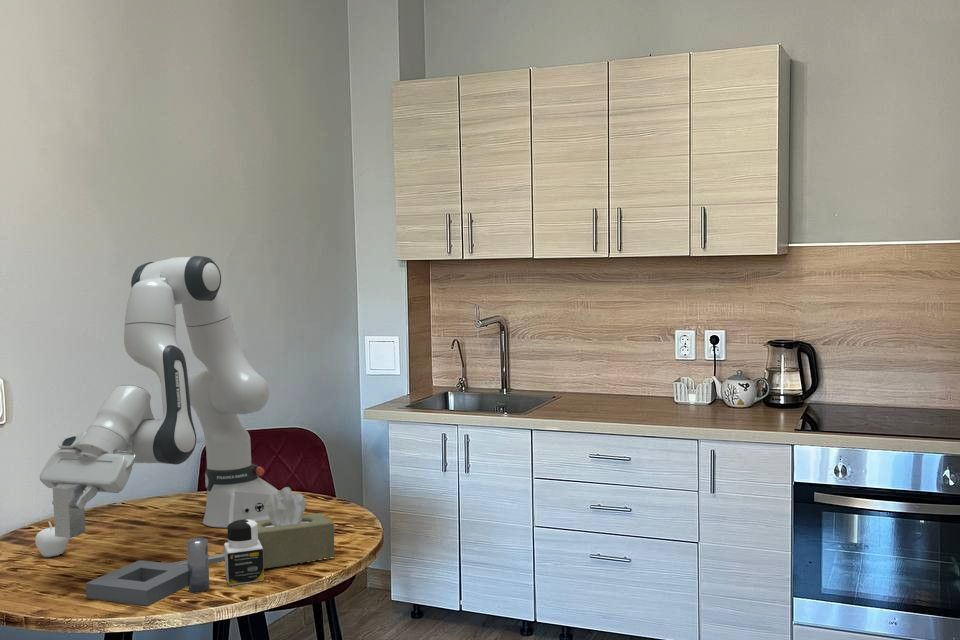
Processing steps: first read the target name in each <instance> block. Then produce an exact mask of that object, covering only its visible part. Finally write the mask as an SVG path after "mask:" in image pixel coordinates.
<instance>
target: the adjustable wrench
mask: <svg viewBox="0 0 960 640" xmlns="http://www.w3.org/2000/svg"><path fill="white" fill-rule="evenodd" d="M222 561H224V562H225V554H224V553H218V554H213V555H208V563H209V565H212V563H213V564H218V563H217V562H219V563H223V562H222ZM169 563H170V564H179V565H188V562H187V559H186V560H180V561H175V562H169Z"/></svg>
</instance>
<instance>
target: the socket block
mask: <svg viewBox="0 0 960 640" xmlns="http://www.w3.org/2000/svg"><path fill="white" fill-rule="evenodd" d="M170 563H171V562H161V561H159V562H158V561H150V560H140V559H138V560H136V561H134V562H132V563H129V564H127V565H125V566H122V567H119V568H118V569H115V570H113V571H111V572H108V573H106V574H103V575H102V576H99V577H97V578H94V579H93V580H89V581H88V582H86V583H85V599H89V600H90V599H91V600H97V601H99V600H100V601H104V602H106V601H107V602H114V603H121V604H130V605H135V606H136V605H137V606H146V607H149V606H150V605H152V604H154V603H156V602H159V601H160V600H162V599H164V598H166V597H169V596H171V595H172V594H174V593H176V592H179V591H180V590H182V589H185V588H186V587H189V584H188V565H179V564H170Z"/></svg>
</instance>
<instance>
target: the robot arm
mask: <svg viewBox="0 0 960 640" xmlns="http://www.w3.org/2000/svg"><path fill="white" fill-rule="evenodd" d="M130 280H131V282H130V286H131V288H130V291H129V295H128V300H127V304H126V310H125V317H124V318H125V319H124V326H123V327H124V329H123V330H124V331H123V343H124V344H123V345H124V348H125V352H126V353H127V355H128V356H129V357H130V358H131V359H132V360H133V361H134V362H135V363H137V364H139V365H141V366H143V367H145V368H148V369H150V370H151V371H153V372H154V373H155V374H156V375H157V377H158V379H159V381H160V382H159V383H160V391H161V392H160V393H161V403H162V416H161V418H160V419H157V418H155V417H154V414H153V412H152V407H151V399H152V395H151V394H150V392H148V390H147V389H144V388H143V387H140V386H138V385H133V384H121V385H119V386H117V387H115V388H114V389H113V390H112V392H110V393H109V395H108V396H107V397H106V399H105V400H104V401H103V403H102V404H101V406H100V407H99V410H98V412H97V414H96V418H95V419H94V421H93V422H92V423H91V424H90V425H89V426H88V427H87V429H86V431H84V432H83V431H82V432H81V433H79V434H76V435H72V436H69V437H66V438H62V439H60V441H59V443H58V448H59V449H57V450H56V451H54V452H53V453H52V454H51V456H50V458H49V459H48V460H47V462H46V463H45V465H44V466H43V469H42V470H41V472H40V473H39V481H40V482H41V483H42V484H43V485H45V487H47V488H48V489H53V487H56V486H60V485H63V484H67V483H71V484H83V491H84V493H83V494H82V495H81V496H80V497H79V498H78V497H76V499H75V501H74V502H73V506H74V507H75V508H76V509H83V508H84V509H85V506H86V504H87V503H89V502H90V501H91V500H92V499H94V498H95V497H96V496H97V494H98V493H109V494H110V493H111V494H119V493H120V492H122V491H123V490H124V488H125V487H126V485H127V483H128V480H129V478H130V476H131V473H132V471H133V466H134V464H166V465H180V464H182V463H184V462H186V461H187V460H188V459H189V458H190V457H191V455H192V454H193V452H194V450H195V449H196V445H197V432H196V429H195V425H194V422H193V417H192V410H191V408H192V409H193V411H194V412H195V413H196V416H197V418H198V421H199V422H200V426H201V428H202V432H203V436H204V442H205V451H206V452H205V453H206V467H205V473H204V476H205V477H204V478H205V480H204V481H205V488H206V490H207V491H206V504H205V511H204V515H203V519H202V524H203V525H205V526H208V527H213V528H227V526H228V525H229V524H230V523H232V522H234V521H237V520H244V519H248V520H253V521H260V520H268V519H270V518H269V515H268V512H267V510H266V507H265V504H264V502H263V501H264V500H266V499H268V498H269V497H270V496H271V495H272V494H277V493H278V492H280V491H279V490H278V489H277V488H276V487H275V486H273V485H272V484H270V483H269V482H267V481H265V480H264V479H262V478H260V476H263V475H264V474H265V469H264V468H263V467H262V466H258V465H256V464H254V463H252V451H251V450H252V448H251V447H252V446H251V436H250V433H249V431H248V430H247V429H246V428H245V427H244V426H243V425H242V423H241V421H240V419H239V417H238V415H247V414H253V413H257V412H259V411H261V410H262V409H264V407H265V406H266V404H267V402H268V401H269V397H270V388H269V384H268V382H267V380H266V379H265V378H264V377H263V376H261V375H260V374H259V373H258V371H256V370H255V369H254V368H253V366H252V365H251V364H250V362H249V361H248V359H247V358H246V356H245V355H244V353H243V351H242V349H241V347H240V344H239V343H238V339H237V336H236V331H235V328H234V324H233V320H232V317H231V313H230V309H229V306H228V303H227V299H226V298H225V297H226V296H225V294H224V292H223V290H222V288H221V285H222V274H221V271H220V269H219V266H218V265H217V263H215V261H214V260H213V259H212V258H211V257H207V256H201V255H193V256H179V257H171V258H167V259H162V260H158V261H149V262H146V263H143V264H141V265H139V266H138V267H136V268H135V270H134V272H133V273H132V276H131V279H130ZM176 305H182V306H181V308H182V313H183V319H184V323H185V326H186V327H185V328H186V331H187V334H188V335H187V336H188V338H189V341H190V342H189V343H190V346H191V350H192V353H193V355H194V356H195V358H196V359H198V361H200V362H201V363H202V364H203V365H204V367H205V368H206V369H204V370H201V371H197V372H195V373H192V374H191V375H190V376H188V368H187V361H186V357H185V355H184V353H183V351H182V350H181V349H180V348H179V345H178V342H177V335H176V332H177V331H176V329H177V328H176V327H177V326H176V325H177V313H176V312H177V311H176ZM51 505H53V500H52V502H51Z"/></svg>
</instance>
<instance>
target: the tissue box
mask: <svg viewBox="0 0 960 640" xmlns="http://www.w3.org/2000/svg"><path fill="white" fill-rule="evenodd" d="M263 502H264V504H265V507H266V510H267V512H268V515H269V518H270V519H268V520H260V521H255V522H256V523H257V526H258V540H259V541H260V543H261V545H262V547H263V561H264V570H267V569H272V568H273V569H274V568H279V567H286V565H287V566H293V565H298V564H297V563H300V564H303V563H302V562H307V563H309V562H308V561H313V560H319V559H324V558H330V557H334V558H335V523H334V522H333V521H332V520H330V519H329V518H328V517H327V516H325V515H323V514H322V513H321V512H318V513H310V514H305V509H306V505H307V504H306V503H307V500H306V498H305V497H304V495H303V494H302V493H294V492H293V491H292V489H291V488H290V486H285V487H283V488H282V489H280V491H279V492H278V493H277V494H272V495H271V496H270V497H269V498H268V499H266V500H264V501H263ZM292 564H293V565H292Z"/></svg>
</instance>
